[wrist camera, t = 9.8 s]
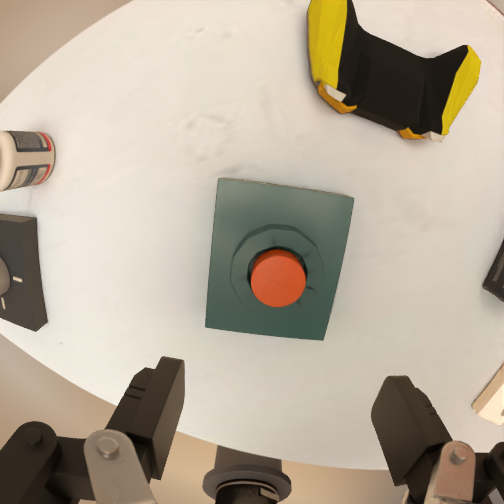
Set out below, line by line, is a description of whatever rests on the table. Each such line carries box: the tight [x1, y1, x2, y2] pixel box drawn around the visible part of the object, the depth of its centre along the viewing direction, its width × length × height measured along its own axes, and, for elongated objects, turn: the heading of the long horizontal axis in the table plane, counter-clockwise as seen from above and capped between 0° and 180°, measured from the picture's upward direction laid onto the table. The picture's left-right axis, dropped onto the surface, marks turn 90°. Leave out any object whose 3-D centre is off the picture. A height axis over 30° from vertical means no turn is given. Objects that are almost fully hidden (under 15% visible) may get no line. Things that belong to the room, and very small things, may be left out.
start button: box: [251, 249, 306, 307], centre depth 20 cm, size 4×4×2 cm
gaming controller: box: [307, 0, 481, 142], centre depth 18 cm, size 15×6×10 cm
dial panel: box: [0, 214, 47, 332], centre depth 25 cm, size 12×10×3 cm
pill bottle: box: [0, 131, 55, 191], centre depth 18 cm, size 5×5×9 cm
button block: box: [205, 178, 354, 341], centre depth 23 cm, size 12×10×4 cm
